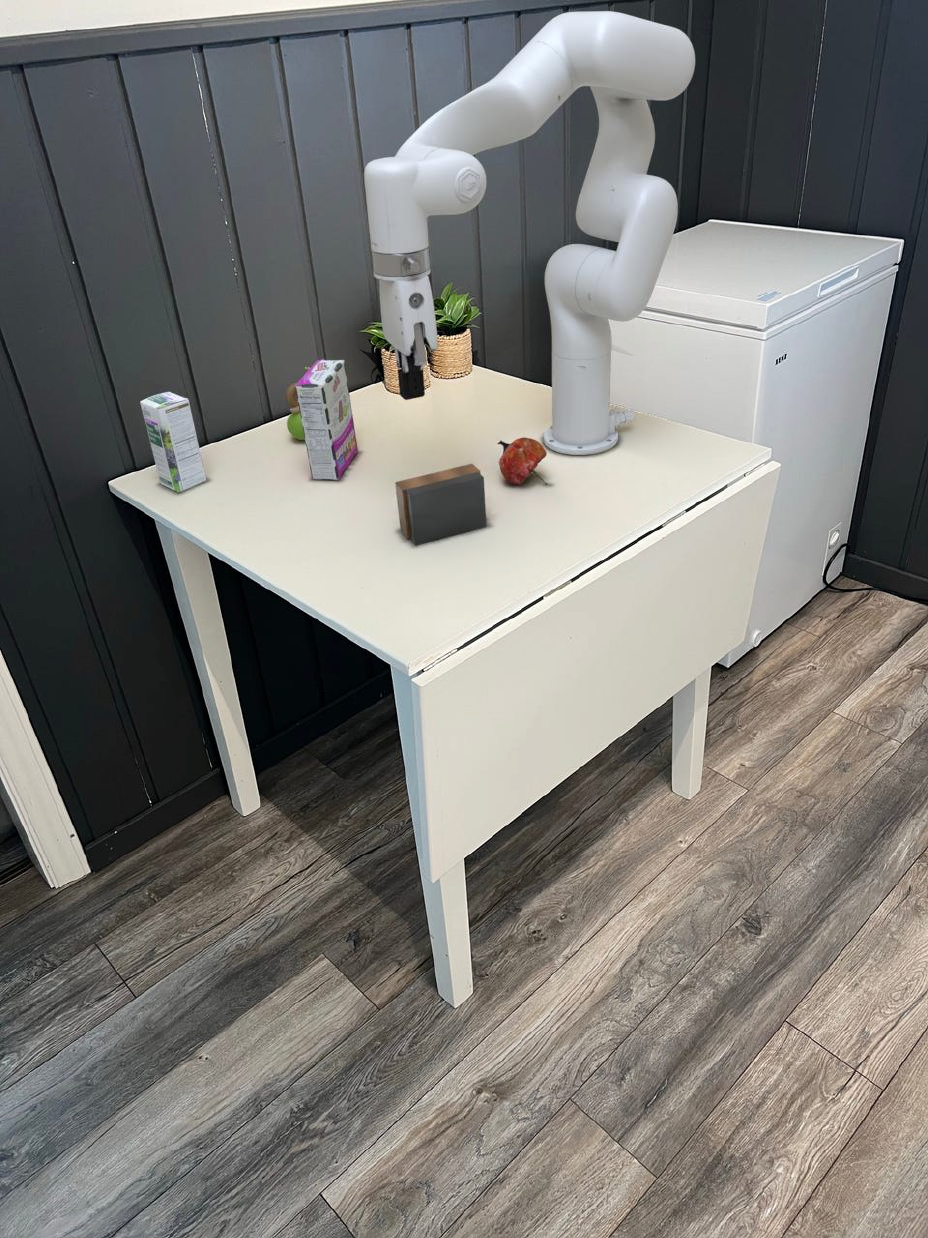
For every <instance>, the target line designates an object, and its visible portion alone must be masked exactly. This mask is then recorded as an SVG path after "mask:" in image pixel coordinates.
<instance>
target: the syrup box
mask: <svg viewBox="0 0 928 1238" xmlns="http://www.w3.org/2000/svg"><path fill="white" fill-rule="evenodd" d="M139 403H140V407H141V411H142V415H143V419H144V423H145V427H146V432H147V436H148V440H149V444H150V448H151V451H152V455H153V459H154V464H155V468H156V472H157V475H158V480H159V482H160V485H162V486H165V487H167V488H168V489H170V490H171V491H172V490H173V491H175V492H177V493H181V492H184V491H187V490H188V489H191V488H193V487H195V486H197V485H200V484H202V483H204V482H206V481H207V477H206V471H205V467H204V462H203V458H202V454H201V449H200V445H199V441H198V435H197V431H196V426H195V421H194V418H193V413H192V409H191V405H190V404H191V403H190V400H189V398H187V397H184V396H180V395H179V394H176V393H173V392H171V391H166V392H162V393H158V394H154V395H151V396H149V397H147V398H145V399H143V400H140V402H139Z"/></svg>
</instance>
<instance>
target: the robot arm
mask: <svg viewBox="0 0 928 1238" xmlns="http://www.w3.org/2000/svg"><path fill="white" fill-rule="evenodd" d="M695 67H696V53H695V49H694V46H693V43H692V41H691V39H690V38H689V37H688V35H687V34H686V33H685V32H684V31H682V30H681V29H679V28H677V27H674V26H671V25H665V24H662V23H658V22H656V21H655V22H654V21H651V20H647V19H644V18H640V17H637V16H634V15H630V14H627V13H622V12H618V11H611V10H601V11H600V10H599V11H569V12H564V13H561V14H557V16H555V17H553V18H552V19H550V20H549V21H548V22H547V23H546V24H545V25H544V26H543V27H542V28H541V29H540V30H539V31H538V32H537V33H536V34H535V35H534V36H533V37H532V38H531V39H530V40H529V41H528V42H527V43H526V44H525V45H524V46H523V48H522V49H520V51H519V52H517V54H516V55H515V56H514V57H513V58H512V59H511V60H510V61H509V62H508V63H507V64H506V65H505V66H504V67H503V68H502V69H501V70H500V71H499V72H498V73H497V74H496V75H495V76H494V77H493V78H492V79H490V80H489V81H488V82H485V83H484V84H482V85H481V86H478V87H476V88H475V89H473V90H471V91H470V92H468V93H466V94H464V95H463V96H462V97H460V98H458V99H456V100H455V101H453V102H451V103H449V104H448V105H445V107H443V108H441V109H439V110H438V111H437V112H435V113H434V114H433V115H431V116H430V117H429V118H428V119H426V121H424V122H423V123H422V124H421V125H420V126H419V127H418V128H417V129H416V130H415V131H414V132H413V133H412V134H411V135H410V136H409V137H408V138H407V140H406V141H404V143H403V144H402V145H401V147H400V148H399V149H398V150H397V152H396V153H395V155H394V156H387V157H381V158H377V159H373V160H371V161H369V162H368V163H367V164H366V166H365V167H364V172H363V180H364V189H365V191H364V192H365V200H366V210H367V219H368V230H369V231H368V232H369V241H370V251H371V260H372V271H373V277H374V278H375V279H377V280H378V290H379V306H380V308H379V309H380V319H381V320H380V321H381V327H382V333H383V336H384V339H385V340H386V341H387V342H388V343H389V344H390V345H391V346H393V349H394V353H395V354H394V355H395V363H396V367H397V378H398V388H399V396H400V397H401V398H402V399H403V400H404V401H408V400H413V399H419V398H423V397H425V395H426V391H425V378H424V366H425V365H427V364H428V361H427V354H426V348H427V349H428V350H429V351H432V352H437V350H438V349H439V340H438V329H437V328H438V327H437V320H436V312H435V304H434V297H433V291H432V285H431V282H430V278H429V275H430V274H431V272H432V271H431V270H432V269H431V258H430V243H429V242H430V241H429V229H428V218H429V217H432V216H455V215H456V216H457V215H462V214H466V213H468V212H469V211H471V210H473V209H474V208H476V207H477V206H478V205H479V204H480V203H481V201H482V199H483V198H484V196H485V193H486V190H487V173H486V171H485V168H484V166H483V165H482V163H481V162H480V161H479V160H478V159H477V158H476V156H475V155H476V154H479V153H481V152H484V151H486V150H487V151H488V150H490V149H494V148H498V147H502V146H507V145H510V144H514V143H516V142H519V141H521V140H525V139H526V138H528V137H531V136H533V135H534V134H535V133H536V132H537V131H538V130H539V129H540V128H542V126H543V125H544V124H545V123H546V122H547V121H548V119H550V117H551V116H552V115H553V114H555V112H556V111H557V110H558V109H559V108H560V107H561V106H563V104H564V103H565V102H566V101H567V100H568V99H569V98H570V97H571V96H572V95H573V93H574V92H576V91H577V90H578V89H579V88H581V87H589V88H590V90H591V93H592V95H593V98H594V102H595V105H596V109H597V114H598V133H597V137H596V141H595V145H594V149H593V152H592V155H591V158H590V161H589V165H588V168H587V171H586V173H585V177H584V179H583V182H582V186H581V189H580V193H579V196H578V200H577V203H576V208H575V209H576V210H575V220H576V221H575V222H576V224H577V226H578V228H579V229H580V230H581V231H582V232H583V233H584V234H587V235H588V236H591V237H594V238H599V239H602V240H607V241H611V242H616V243H618V244H617V248H616V250H612V249H608V248H606V247H601V246H600V247H599V246H596V245H591V244H585V243H584V244H583V243H571V244H567V245H563V246H562V247H560V248H559V249H557V250H556V251H555V252H553V254H552V255H551V256H550V257H549V259H548V261H547V264H546V266H545V271H544V289H545V295H546V301H547V305H548V310H549V318H550V329H551V331H550V332H551V408H552V409H551V424H552V425H551V426H549V427H547V428H546V429H544V432H543V436H542V437H543V443H544V445H545V446H546V447H547V448H548V449H549V450H552V451H554V452H557V453H560V454H564V455H570V456H588V455H595V454H599V453H602V452H606V451H608V450H610V449H612V448H613V447H614V446H616V444H618V442H619V431H618V430H617V428H618V427H619V426H620V424H621V425H622V424H627V423H628V424H629V423H631V422H634V421H635V419H636V415H635V412H634V410H633V409H629V410H624V411H622V412H621V410H620V409H619V408H618V407H616V408H613V409H610V405H611V403H610V402H611V374H612V373H611V371H612V369H611V368H612V344H613V343H612V331H611V325H610V322H609V320H610V321H614V322H622V323H624V322H630V321H632V320H634V319H636V318H637V317H639V316H640V314H642V312H643V311H644V310H645V309H646V307H647V306H648V303H649V302H650V300H651V297H652V295H653V292H654V290H655V287H656V284H657V281H658V279H659V275H660V272H661V270H662V267H663V264H664V261H665V259H666V256H667V253H668V251H669V247H670V244H671V242H672V239H673V235H674V233H675V229H676V225H677V220H678V214H679V212H678V210H679V208H678V207H679V206H678V205H679V204H678V197H677V194H676V191H675V189H674V187H673V186H672V184H670V182H668V181H667V180H666V179H665V178H662V177H660V176H658V175H657V176H655V175H651V174H647V173H648V169H649V166H650V162H651V159H652V155H653V151H654V148H655V141H656V130H655V123H654V118H653V116H652V113H651V109H650V106H649V104H648V101H670V100H672V99H673V100H674V99H675V98H677V97H678V96H679V95H681V94H683V92H684V91H685V90H686V89H687V87H688V86H689V84H690V83H691V80H692V78H693V77H694V73H695V69H696V68H695Z"/></svg>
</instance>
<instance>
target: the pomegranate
mask: <svg viewBox="0 0 928 1238" xmlns="http://www.w3.org/2000/svg"><path fill="white" fill-rule="evenodd" d="M497 445H501V446H502V448H503V449H502V455H501V456H500V458H499V460H498V466H499V472H500V473H501V476H503V478H504V479H505V480H506V481H507V482H508V483H510V484H513V485H515V486H519V485H522V484H523V483H524V482H525V481H526V479H527V477H528V476H530V475H531V473H532V474H533V475H534V476H535V477H536V478H538V479H540V480H541V481H542V482H543V484H545V485H548V483H547V482H546V481H545V480H544V479H543V477H541V476H540V475H539V474H538V473H537V472H536V471H535V469H536V468H537V467H538V465H539V463H541V462H542V461H543V460H544V459H545V458H546V457H547V453H548V452H547V450H546V449H545V448H544V446H543V445H542V444H541V443H540V442H539V441H538V440H536V439H534V438H531V437H524V436H523V437H519V438H516V439H515V440H513V441H512V442H511V443H507V442H505V441H503V440H501V439H500V440H499V442H497Z"/></svg>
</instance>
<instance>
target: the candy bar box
mask: <svg viewBox="0 0 928 1238" xmlns="http://www.w3.org/2000/svg"><path fill="white" fill-rule="evenodd" d="M309 368H310V369H309V371H308V370H307V372H306V373H305V374H304V375H302V377H301V378H300V380H299V381H298V382H296V383H297V384H296V385H295V388H296V394H297V398H298V404H299V410H300V415H301V420H302V426H303V430H304V436H305V440H304V442H305V446H306V453H307V457H308V463H309V468H310V473H311V474H310V475H311V478H312V480H316V481H340V479H341V478H342V476H343V475H344V474H345V472H346V470H347V469H348V467H349V466H350V465H351V463H352V461H353V460H354V459H355V457H356V456H357V454H358V453H359V449H358V442H357V435H356V430H355V423H354V422H355V421H354V417H353V416H354V415H353V410H352V403H351V397H350V389H349V384H348V377H347V376H348V375H347V371H346V369H347V368H346V362H345V359H317V360H316V361H315V362H314V363H313V365H312V366H311V367H309Z"/></svg>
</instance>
